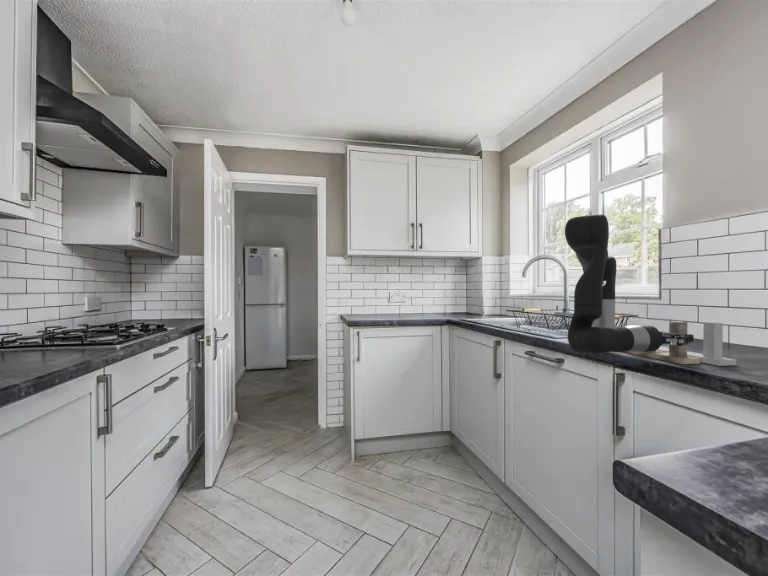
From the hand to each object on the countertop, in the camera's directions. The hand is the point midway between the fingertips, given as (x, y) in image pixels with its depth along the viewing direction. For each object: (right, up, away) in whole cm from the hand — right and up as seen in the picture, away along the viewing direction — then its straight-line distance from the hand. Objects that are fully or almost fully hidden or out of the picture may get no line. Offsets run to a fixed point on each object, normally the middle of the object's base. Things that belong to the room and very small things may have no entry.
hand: (685, 337), depth 114 cm
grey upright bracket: (+4, -7, +4) cm, 9 cm away
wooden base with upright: (-4, -7, +6) cm, 10 cm away
